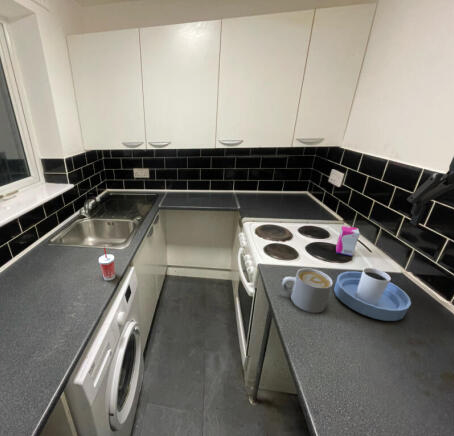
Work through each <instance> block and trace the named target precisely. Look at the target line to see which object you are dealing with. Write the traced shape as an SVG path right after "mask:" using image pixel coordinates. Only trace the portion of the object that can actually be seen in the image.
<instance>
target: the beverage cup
mask: <svg viewBox="0 0 454 436" xmlns="http://www.w3.org/2000/svg"><path fill="white" fill-rule="evenodd" d="M103 251H104V255H101V256H100V257H99V258H98V263H99V265H100V269H101V272H102V277H103V279H104V281H106V282H107V281H112V280H114V279H115V278H116V269H115V267H116V266H115V256H114V255H113V254H110V253H109V254H108V253H107V250H106V247H103Z"/></svg>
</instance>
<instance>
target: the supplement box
mask: <svg viewBox="0 0 454 436" xmlns="http://www.w3.org/2000/svg"><path fill="white" fill-rule="evenodd" d="M360 234H361V232H360V231H359V228H358V227H354V226H353V227H352V226H347V225H342V226H341V229H340V232H339V234H338V235H339V236H338V238H337V243H336V244H335V252H336V253H335V254H338V255H344V256H348V257H353V255H354V252H355V249H356V246H357V243H358V240H359V237H360Z"/></svg>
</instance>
